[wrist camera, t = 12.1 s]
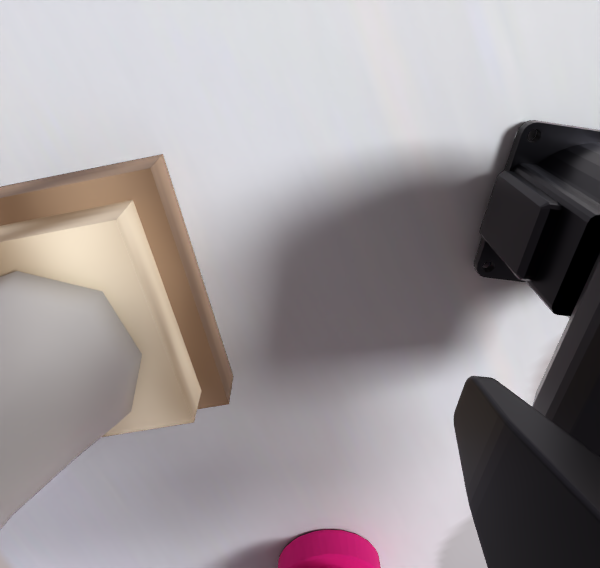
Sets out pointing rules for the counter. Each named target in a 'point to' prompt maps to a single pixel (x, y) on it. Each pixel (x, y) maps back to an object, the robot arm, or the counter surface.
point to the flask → (56, 380)
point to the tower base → (164, 243)
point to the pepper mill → (329, 551)
